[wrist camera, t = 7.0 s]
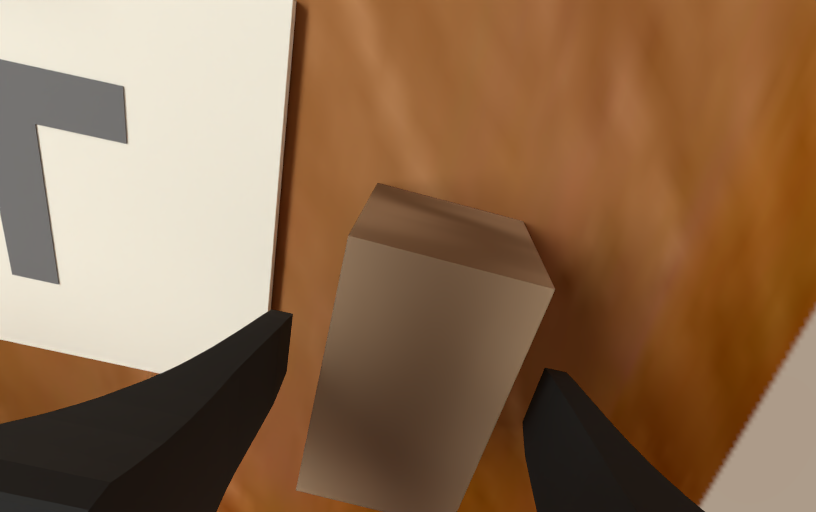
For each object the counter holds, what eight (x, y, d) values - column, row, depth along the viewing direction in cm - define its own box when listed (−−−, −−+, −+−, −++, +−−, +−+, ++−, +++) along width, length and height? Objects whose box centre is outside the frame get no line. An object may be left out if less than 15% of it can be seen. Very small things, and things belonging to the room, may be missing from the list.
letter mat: (-157, 299, 17) (-168, 304, 16) (-325, -138, 11) (-347, -143, 11) (264, 389, 17) (260, 395, 16) (296, 0, 11) (292, -1, 11)
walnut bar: (332, 384, 17) (295, 490, 13) (378, 181, 13) (348, 235, 9) (448, 413, 17) (449, 527, 13) (522, 219, 14) (555, 289, 9)
